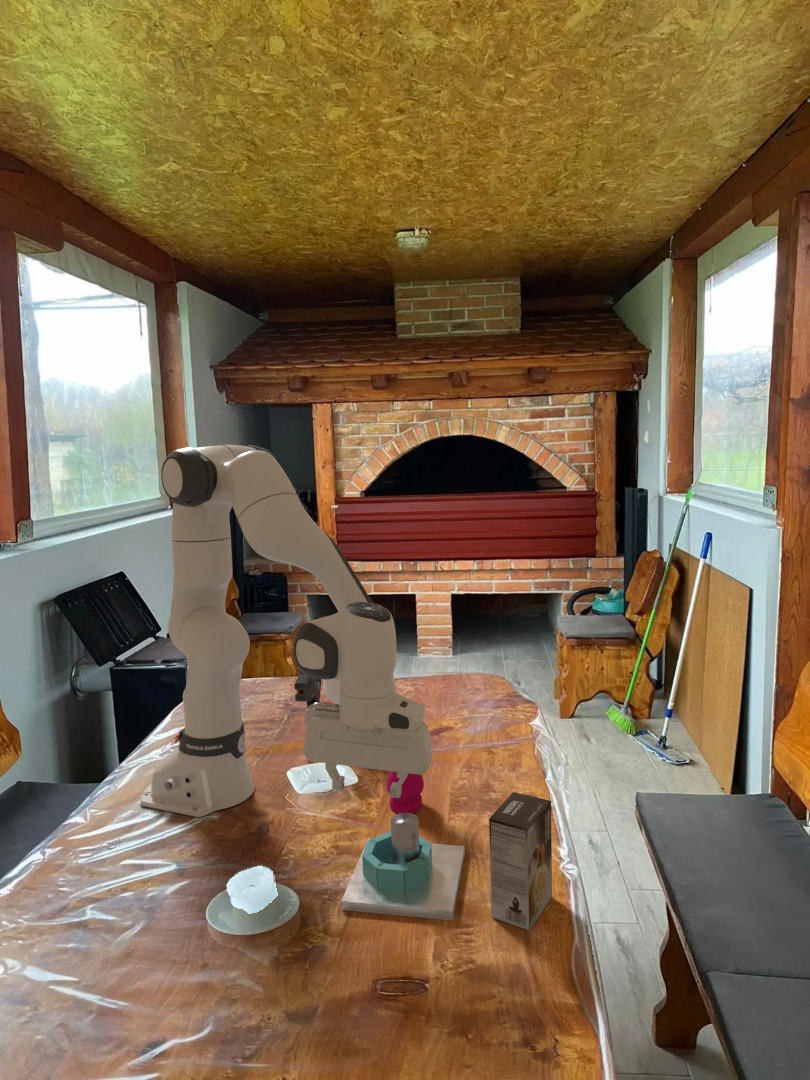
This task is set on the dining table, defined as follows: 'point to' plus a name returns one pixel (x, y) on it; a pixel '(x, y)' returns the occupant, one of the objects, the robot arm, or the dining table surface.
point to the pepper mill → (406, 793)
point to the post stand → (421, 900)
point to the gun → (307, 689)
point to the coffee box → (520, 859)
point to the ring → (395, 865)
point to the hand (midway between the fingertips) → (366, 792)
